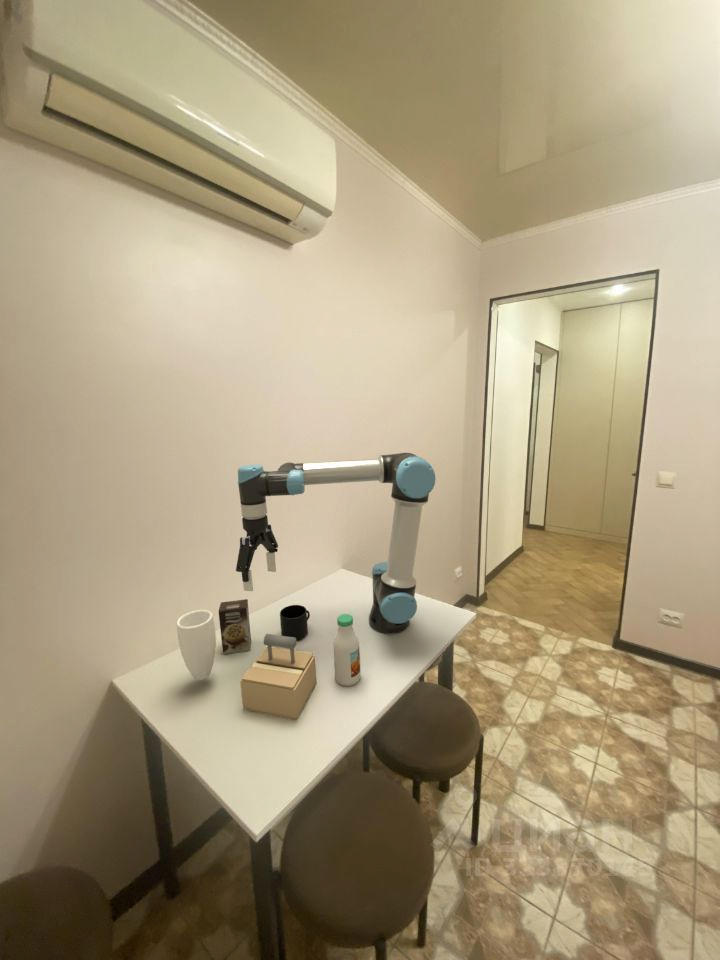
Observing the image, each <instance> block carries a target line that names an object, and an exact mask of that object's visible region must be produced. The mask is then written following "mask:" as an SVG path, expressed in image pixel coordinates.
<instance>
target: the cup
mask: <svg viewBox="0 0 720 960" xmlns="http://www.w3.org/2000/svg"><path fill="white" fill-rule="evenodd" d="M176 632H177V640H178V645H179V650H180V651H179V652H180V653H181V656H182V659H183V662H184V664H185V667H186V669H187V671H189V673H190V675H191V676H192V678H194V680H196V681H202V680H205V679H207V678H208V677H209V676H210V675H211V672H212V669H213V666H214V663H215V662H214V661H215V658H216V648H217V639H216V637H217V636H216V627H215V622H214V615H213V613H212V612H211V611H209V610H207V609H196V610H193V611H189V612H187V613H185V614H182V615H181V616H180V617H179V618H178V620H177V622H176Z"/></svg>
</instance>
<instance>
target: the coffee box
mask: <svg viewBox="0 0 720 960" xmlns="http://www.w3.org/2000/svg"><path fill="white" fill-rule="evenodd" d="M248 601H249V599H247V598H246V599H237V600H230V601H222V602H220V604H219V609H218V620H219V628H220V636H221V637H220V639H221V648H222V655H229V654H236V653H242V652H249V651H251V649H252V648H251V647H252V633H251V623H250V613H249V602H248Z"/></svg>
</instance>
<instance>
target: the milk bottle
mask: <svg viewBox="0 0 720 960" xmlns="http://www.w3.org/2000/svg"><path fill="white" fill-rule="evenodd" d="M336 619H337V620H336V622H337V627H338V628H337V631H336V634H335V636H334V639H333V663H334V664H333V666H334V667H333V668H334V678H335V681H336V682H337V684H338V685H340V686H343V687H350V686H353V685H355V684H357V683H358V682H359V681H360V679H361V655H360V641H359V637H358V635H357V634H356V631H355V629H354V627H353V625H354V617H353V615H351V614H349V613H343V614H340V615H339V616H337V618H336Z"/></svg>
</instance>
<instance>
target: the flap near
mask: <svg viewBox="0 0 720 960" xmlns="http://www.w3.org/2000/svg"><path fill="white" fill-rule="evenodd" d="M263 645H264V646H266V648H265V649H264V650H263V651H262V653H261V654H260V655H259V657H257V659H256V660H255V662H259V663H266V664H272V665H278V666H284V667H291V668H297V669H303V670H304V669H305V667H306V666H307V664H308V662H309V661H310V659H311V657H312V656H314V653H313V652H307V651H298V650H295V648H296V646H297V641H296V638H294V637H287V636H282V635H278V634H271V633H266V634H265V635H264V637H263Z"/></svg>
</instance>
